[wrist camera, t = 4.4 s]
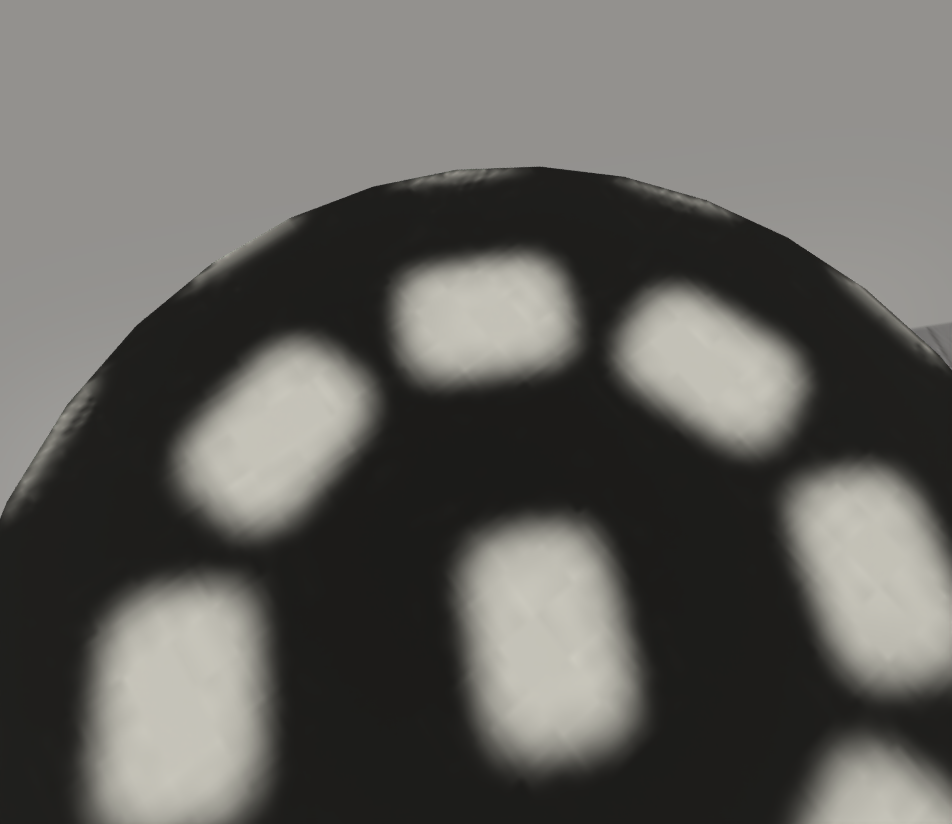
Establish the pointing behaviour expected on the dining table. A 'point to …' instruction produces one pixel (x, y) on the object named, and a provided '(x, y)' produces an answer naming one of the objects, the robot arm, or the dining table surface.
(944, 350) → the dining table surface
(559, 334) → the black polka dot cylinder
